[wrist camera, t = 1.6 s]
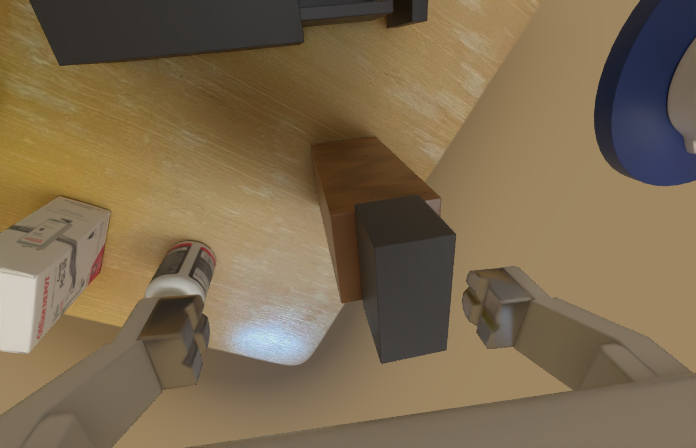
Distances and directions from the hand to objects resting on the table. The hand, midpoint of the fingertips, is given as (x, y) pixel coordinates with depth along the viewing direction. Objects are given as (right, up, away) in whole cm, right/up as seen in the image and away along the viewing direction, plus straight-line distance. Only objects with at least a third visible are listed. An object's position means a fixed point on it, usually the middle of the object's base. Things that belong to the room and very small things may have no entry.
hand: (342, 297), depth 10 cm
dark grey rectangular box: (+3, 0, +11) cm, 12 cm away
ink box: (-28, +1, +25) cm, 38 cm away
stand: (0, +8, +26) cm, 27 cm away
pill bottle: (-18, -2, +28) cm, 34 cm away
